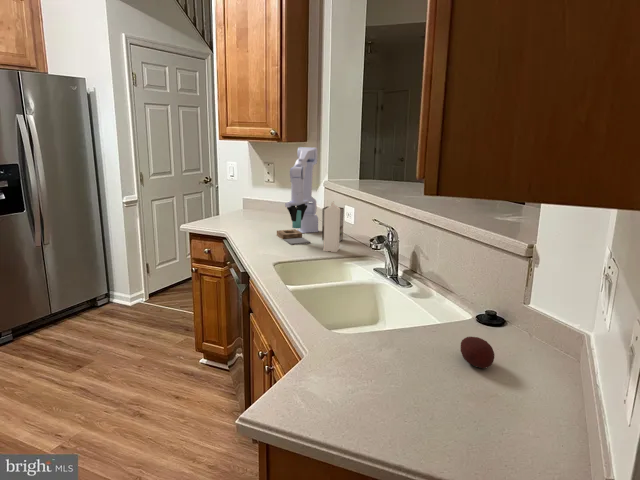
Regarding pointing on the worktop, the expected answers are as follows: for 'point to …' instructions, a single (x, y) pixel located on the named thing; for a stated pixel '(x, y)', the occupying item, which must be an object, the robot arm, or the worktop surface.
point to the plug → (297, 220)
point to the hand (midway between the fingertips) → (297, 220)
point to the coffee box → (340, 223)
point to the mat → (296, 241)
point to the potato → (477, 352)
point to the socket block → (289, 234)
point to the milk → (331, 228)
